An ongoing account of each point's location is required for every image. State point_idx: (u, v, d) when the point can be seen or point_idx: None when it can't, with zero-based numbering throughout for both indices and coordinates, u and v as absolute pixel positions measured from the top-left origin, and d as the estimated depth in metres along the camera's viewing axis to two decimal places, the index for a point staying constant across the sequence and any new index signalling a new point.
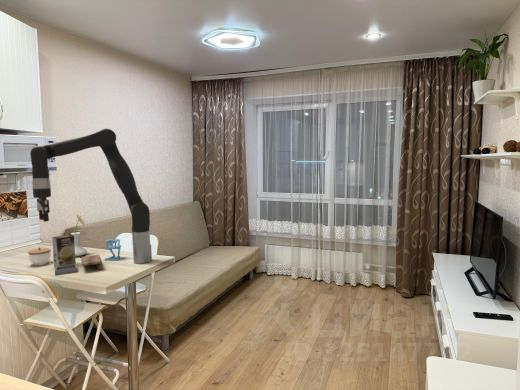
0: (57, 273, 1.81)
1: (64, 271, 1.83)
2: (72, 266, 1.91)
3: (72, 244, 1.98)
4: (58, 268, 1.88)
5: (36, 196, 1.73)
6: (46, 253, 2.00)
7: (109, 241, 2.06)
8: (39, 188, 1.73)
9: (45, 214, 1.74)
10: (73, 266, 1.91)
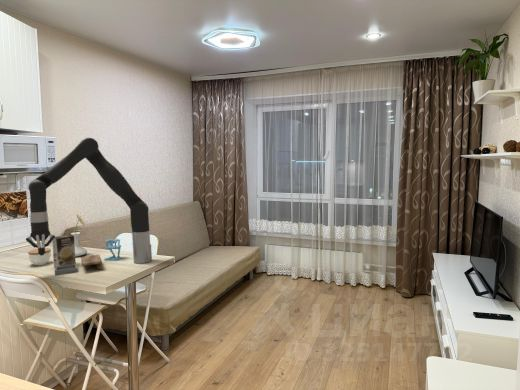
0: (57, 273, 1.81)
1: (64, 271, 1.83)
2: (72, 266, 1.91)
3: (72, 244, 1.98)
4: (58, 268, 1.88)
5: (45, 229, 1.79)
6: (46, 253, 2.00)
7: (109, 241, 2.06)
8: (47, 221, 1.80)
9: (44, 248, 1.81)
10: (73, 266, 1.91)
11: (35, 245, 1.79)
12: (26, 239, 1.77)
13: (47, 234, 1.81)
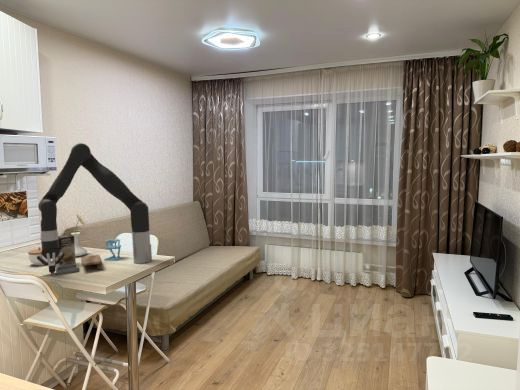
0: (58, 273, 1.82)
1: (65, 271, 1.83)
2: (73, 266, 1.91)
3: (72, 244, 1.98)
4: (59, 268, 1.88)
5: (55, 247, 1.81)
6: None
7: (109, 241, 2.06)
8: (57, 239, 1.82)
9: (54, 266, 1.84)
10: (74, 266, 1.91)
11: (46, 263, 1.81)
12: (37, 257, 1.79)
13: (57, 252, 1.83)
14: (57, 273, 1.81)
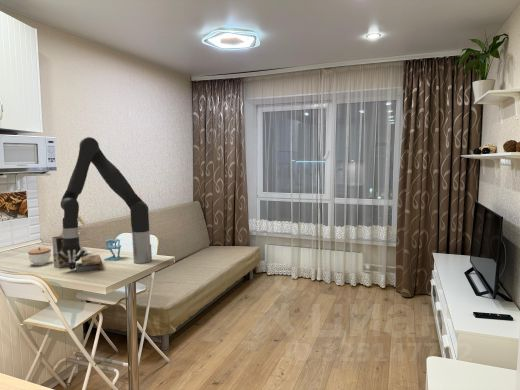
0: (78, 270, 1.86)
1: (85, 268, 1.87)
2: None
3: None
4: (78, 265, 1.92)
5: (76, 244, 1.86)
6: (46, 253, 2.00)
7: (109, 241, 2.06)
8: (78, 236, 1.87)
9: (74, 263, 1.88)
10: None
11: (66, 260, 1.86)
12: (58, 254, 1.84)
13: (78, 249, 1.88)
14: (77, 270, 1.86)
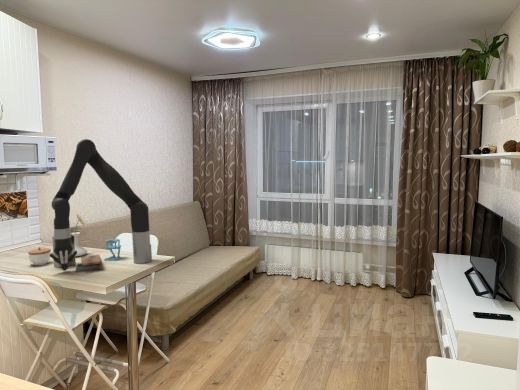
0: (78, 270, 1.86)
1: (85, 268, 1.87)
2: None
3: (72, 244, 1.98)
4: (78, 265, 1.92)
5: (68, 245, 1.84)
6: (46, 253, 2.00)
7: (109, 241, 2.06)
8: (70, 237, 1.85)
9: (67, 263, 1.87)
10: None
11: (58, 261, 1.84)
12: (50, 255, 1.82)
13: (70, 250, 1.86)
14: (77, 270, 1.86)
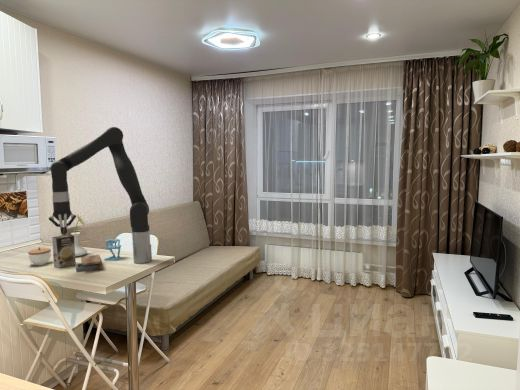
0: (78, 270, 1.86)
1: (85, 268, 1.87)
2: None
3: (72, 244, 1.98)
4: (78, 265, 1.92)
5: (67, 208, 1.83)
6: (46, 253, 2.00)
7: (109, 241, 2.06)
8: (68, 200, 1.85)
9: (66, 227, 1.86)
10: None
11: (58, 224, 1.83)
12: (49, 218, 1.81)
13: (69, 214, 1.85)
14: (77, 270, 1.86)
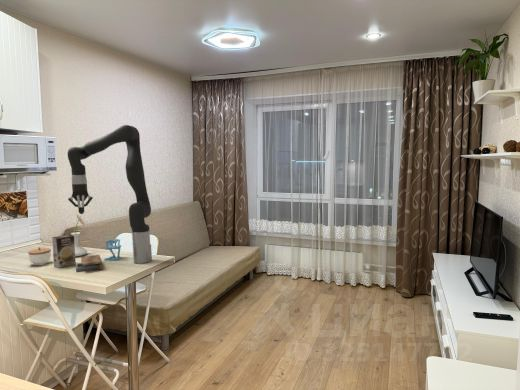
0: (78, 270, 1.86)
1: (85, 268, 1.87)
2: None
3: (72, 244, 1.98)
4: (78, 265, 1.92)
5: (84, 190, 2.01)
6: (46, 253, 2.00)
7: (109, 241, 2.06)
8: (86, 183, 2.03)
9: (83, 208, 2.04)
10: None
11: (76, 204, 2.02)
12: (68, 199, 1.99)
13: (86, 195, 2.04)
14: (77, 270, 1.86)
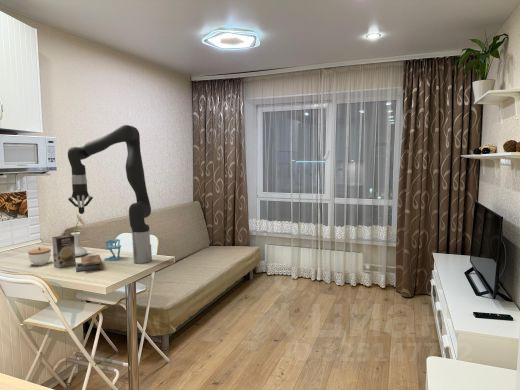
0: (78, 270, 1.86)
1: (85, 268, 1.87)
2: None
3: (72, 244, 1.98)
4: (78, 265, 1.92)
5: (84, 190, 2.02)
6: (46, 253, 2.00)
7: (109, 241, 2.06)
8: (86, 183, 2.03)
9: (83, 208, 2.04)
10: None
11: (76, 204, 2.02)
12: (68, 199, 2.00)
13: (86, 195, 2.04)
14: (77, 270, 1.86)
